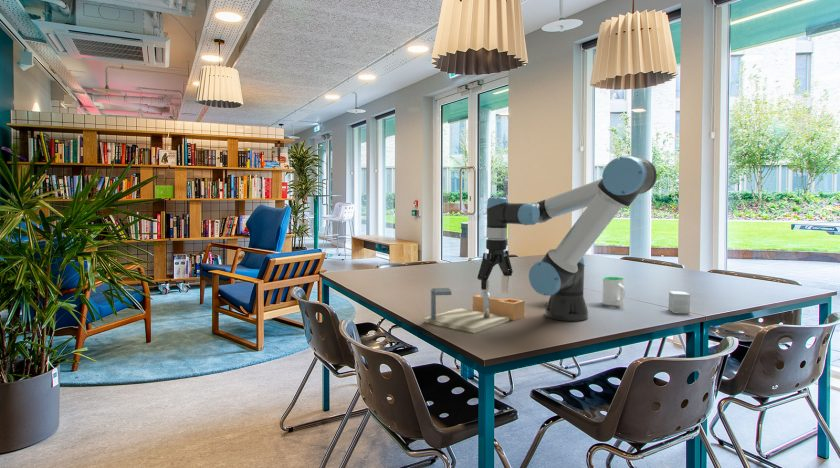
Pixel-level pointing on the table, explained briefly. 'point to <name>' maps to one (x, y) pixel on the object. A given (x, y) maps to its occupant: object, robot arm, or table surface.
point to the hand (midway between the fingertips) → (495, 295)
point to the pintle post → (486, 304)
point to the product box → (679, 302)
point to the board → (466, 320)
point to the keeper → (433, 299)
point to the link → (501, 306)
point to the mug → (613, 291)
